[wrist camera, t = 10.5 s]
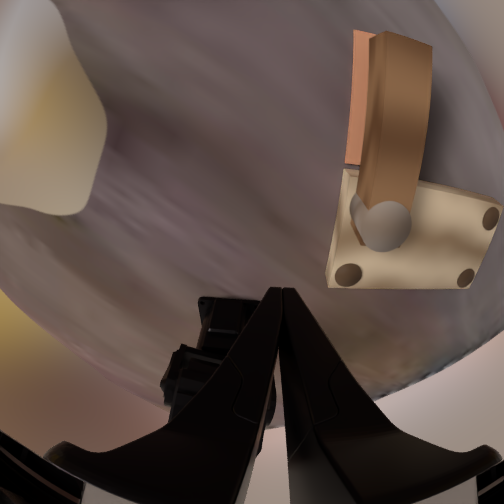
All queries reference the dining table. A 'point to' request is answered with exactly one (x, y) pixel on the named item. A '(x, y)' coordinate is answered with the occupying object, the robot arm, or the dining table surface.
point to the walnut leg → (392, 140)
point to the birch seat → (417, 241)
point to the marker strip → (358, 97)
